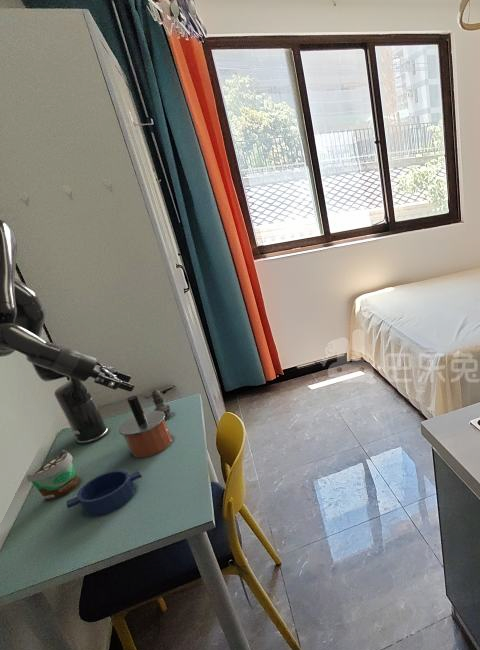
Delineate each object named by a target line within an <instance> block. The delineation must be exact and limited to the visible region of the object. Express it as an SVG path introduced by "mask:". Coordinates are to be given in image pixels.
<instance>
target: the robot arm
mask: <svg viewBox="0 0 480 650" xmlns="http://www.w3.org/2000/svg"><path fill="white" fill-rule="evenodd" d="M17 253H18V242H17V236H16V233H15V231H14V230H13V228H12V226H11V225H10V224H9V223H8V222H7V221H6V220H4V219H0V357H7V356H10V355H11V354H13V353H14V352H15V351H16V352H18V353H20V354H22V355H24V356H25V357H26V360H27V361H28V362H29V363H31V365H32V368H33V369H34V371H35V373H36V375H37V376H38V378H39V379H40V380H42V381H43V382H52V381H55V380H56V381H57V380H60V379H63V378H67V377H68V378H69V380H67V382H65V383H64V384H62V385H60V386H59V387H58V388H56V389H55V391H54V394H53V395H54V397H55V399H56V400H57V403H58V404H59V407H60V408H61V410H62V412H63V414H64V416H65V418H66V420H67V422H68V424H69V426H70V428H71V432H72V434H73V435H74V436H75V438H76V441H77V443H78V444H82V445H85V444H91V443H93V442H95V441H98V440H101V439H102V438H103V437H105V436H106V435H107V434H108V432H109V429H108V427H107V426H106V423H105V421H104V419H103V417H102V415H101V412H100V411H99V409H98V407H97V404H96V402H95V399H94V398H93V396H92V394H91V391H90V389H89V387H88V385H87V382H86V381H87V380H88V379H89V378H92V379H94V381H93V382H94V383H95V384H98V385H101V386H103V387H106V388H109V389H111V390H117V389H121V390H123V391H126V392H130V393H131V392H133V390H134V388H135V385H134V384H133V383H130V381H131V379H132V376H131V375H129V374H126V373H124V372H120V371H119V370H118V369H117V368H116V367H113V366H111V365H108V364H105V363H102V362H99V361H97V360H98V359H97V358H96V357H94V356H92V355H89V354H88V353H87V354H86V353H84V352H81V351H78V350H76V349H73V348H70V347H66V346H62V345H60V344H56V343H54V342H51V341H48V340H45V339H43V338H42V337H41V334H42V331H43V328H44V324H45V321H46V310H45V308H44V306H43V304H42V302H41V300H40V298H39V296H38V294H37V293H36V292H35V291H34V290H33V289H32V288H31V287H30V286H28V285H27V284H25V283H24V282H22V280H19V279H18V278H16V277H15V275H16V267H17Z"/></svg>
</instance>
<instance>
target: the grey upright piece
mask: <svg viewBox="0 0 480 650" xmlns="http://www.w3.org/2000/svg"><path fill="white" fill-rule="evenodd" d="M151 397H152V399H153V401H152V403H154V405H155V408H154V409H153V411H162V412H163V413H164V414H165V419H164V420H165V421H167V420H169V419H171V418H172V417H173V415H174V414H173V413H172V412H171V405H170V404H166V403H165V401H164V397H163V396H162V393H161V391H160V390H157V389H155V388H153V391H152V392H151Z"/></svg>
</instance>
